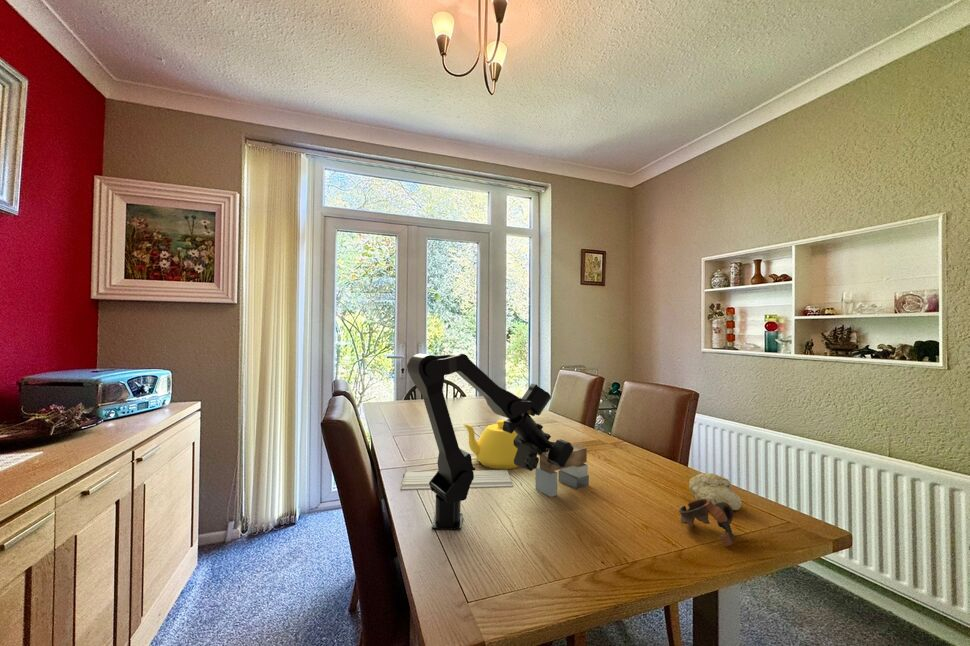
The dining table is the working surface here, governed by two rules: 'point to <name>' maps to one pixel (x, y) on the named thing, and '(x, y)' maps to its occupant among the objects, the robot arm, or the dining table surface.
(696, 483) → the decorative item
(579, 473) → the grey stepped block
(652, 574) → the dining table surface
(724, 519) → the dark curved fragment
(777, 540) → the dining table surface
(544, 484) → the light gray rectangular block
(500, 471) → the baseboard molding
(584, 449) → the batten
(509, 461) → the teapot
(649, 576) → the dining table surface
